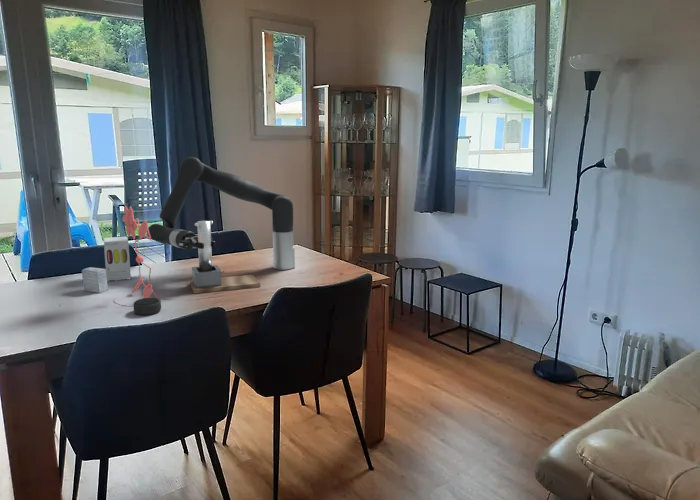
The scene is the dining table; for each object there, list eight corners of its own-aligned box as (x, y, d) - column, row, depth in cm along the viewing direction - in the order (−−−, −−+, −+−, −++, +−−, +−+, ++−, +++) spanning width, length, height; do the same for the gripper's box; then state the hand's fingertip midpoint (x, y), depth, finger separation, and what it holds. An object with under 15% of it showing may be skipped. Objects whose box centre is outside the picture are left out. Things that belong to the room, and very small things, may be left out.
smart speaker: (157, 315, 179) (157, 304, 178) (130, 316, 178) (129, 305, 177) (164, 307, 187) (163, 296, 186) (138, 308, 186) (137, 297, 185)
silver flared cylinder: (210, 268, 215) (208, 219, 211) (218, 270, 212) (216, 221, 208) (193, 272, 209) (190, 222, 204) (200, 274, 206) (198, 223, 201)
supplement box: (106, 281, 218) (102, 241, 214) (106, 276, 226) (103, 237, 222) (131, 279, 222) (128, 240, 218) (130, 273, 230) (127, 236, 226)
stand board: (252, 278, 225) (252, 274, 225) (260, 286, 213) (260, 283, 213) (189, 283, 216) (189, 280, 216) (193, 293, 203) (193, 289, 203)
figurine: (144, 286, 211) (135, 199, 203) (167, 303, 191) (158, 208, 183) (103, 294, 202) (92, 203, 193) (123, 312, 182) (112, 212, 174)
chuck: (217, 279, 218) (217, 265, 216) (221, 285, 209) (220, 270, 207) (192, 281, 214) (191, 267, 213) (195, 288, 205) (194, 273, 204)
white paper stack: (108, 290, 206) (106, 268, 204) (99, 293, 202) (97, 271, 200) (92, 288, 209) (90, 266, 207) (83, 291, 205) (81, 269, 203)
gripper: (167, 232, 210) (193, 238, 200) (197, 227, 221) (223, 233, 211) (168, 250, 212) (194, 257, 202) (197, 245, 223) (223, 251, 213)
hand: (208, 245), depth 206 cm, fingers closed on silver flared cylinder, 5 cm apart
